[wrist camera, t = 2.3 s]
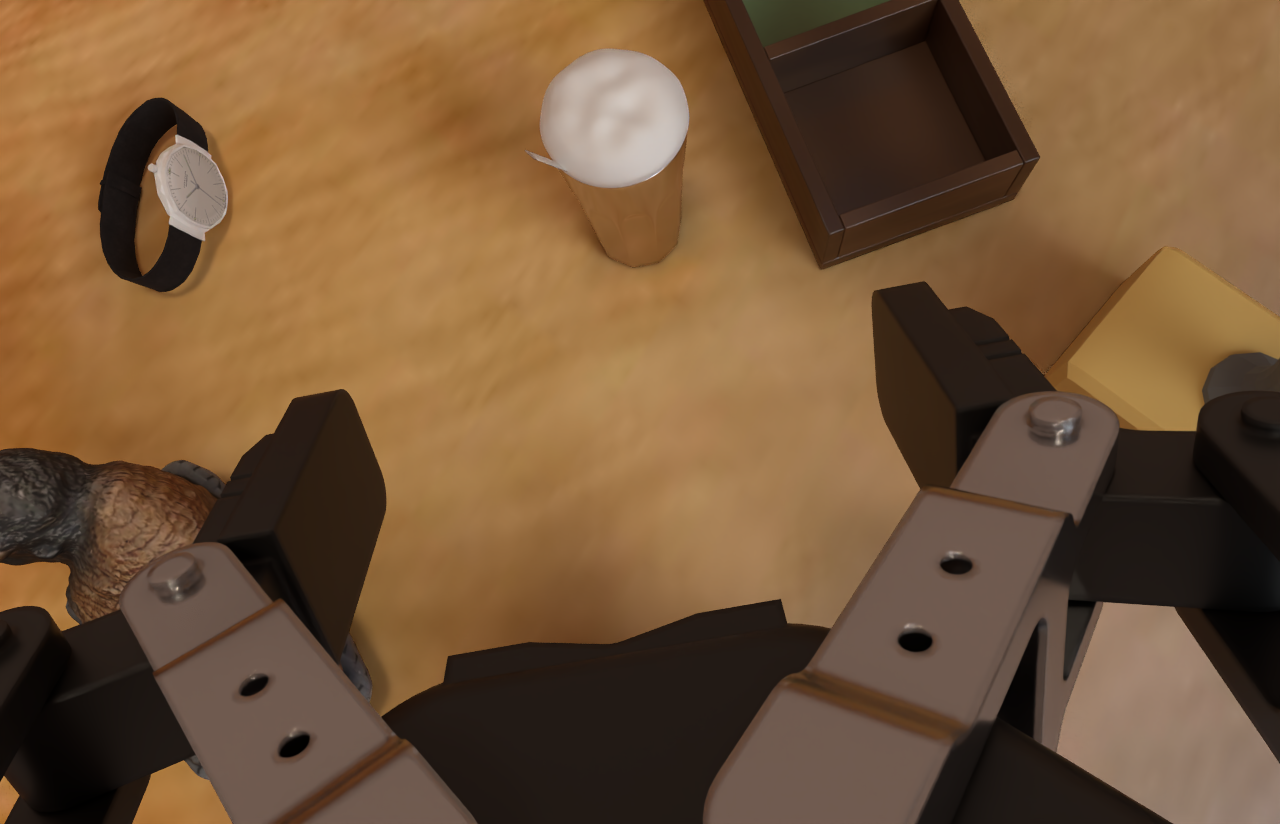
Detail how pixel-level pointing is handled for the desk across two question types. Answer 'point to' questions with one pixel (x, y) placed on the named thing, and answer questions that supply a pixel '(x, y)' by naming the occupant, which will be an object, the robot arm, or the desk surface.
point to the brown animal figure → (110, 527)
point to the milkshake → (620, 149)
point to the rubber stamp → (1171, 346)
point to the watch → (160, 194)
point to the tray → (875, 115)
